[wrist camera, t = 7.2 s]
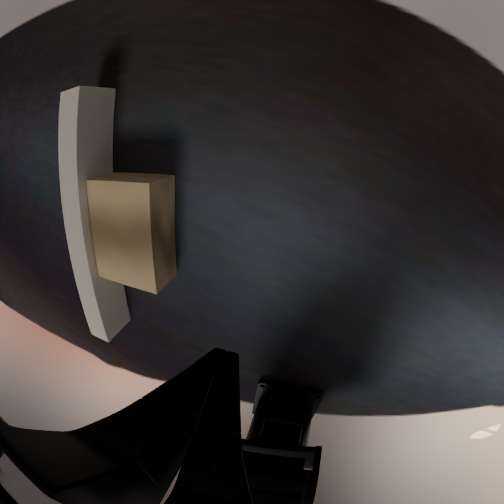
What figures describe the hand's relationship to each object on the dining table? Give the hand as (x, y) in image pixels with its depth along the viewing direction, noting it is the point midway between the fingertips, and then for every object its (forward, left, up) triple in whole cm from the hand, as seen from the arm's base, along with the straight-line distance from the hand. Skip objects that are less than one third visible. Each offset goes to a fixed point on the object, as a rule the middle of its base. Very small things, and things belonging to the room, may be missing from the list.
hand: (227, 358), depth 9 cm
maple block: (0, +11, -11) cm, 15 cm away
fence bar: (0, +15, -11) cm, 18 cm away
